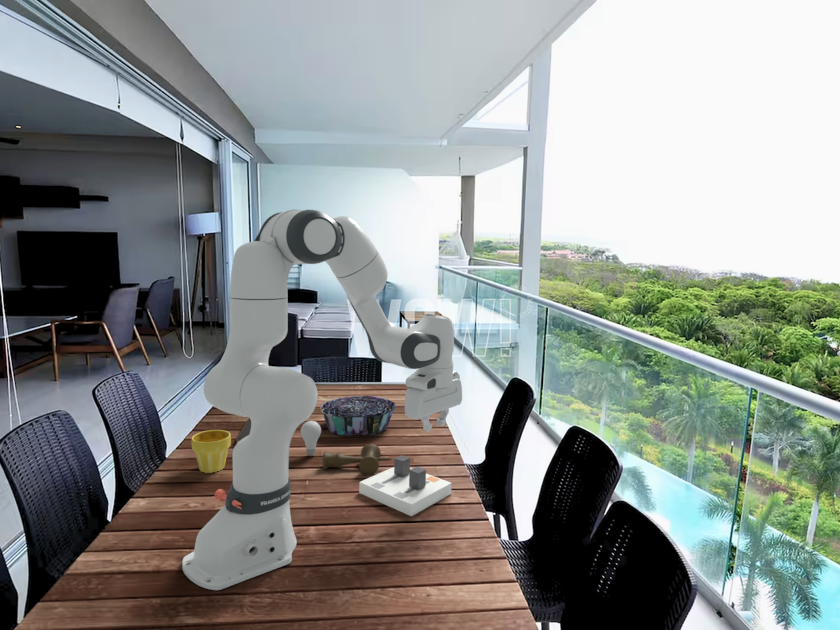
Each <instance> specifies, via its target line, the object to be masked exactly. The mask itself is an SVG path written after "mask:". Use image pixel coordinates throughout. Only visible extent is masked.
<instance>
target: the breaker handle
mask: <svg viewBox="0 0 840 630" xmlns="http://www.w3.org/2000/svg"><path fill="white" fill-rule="evenodd" d="M393 462H394V463H393V465H394V466H393V467H394V474H396V475H398V476H401V477H404V476H406V475H408V474H409V470H410V468H411V457H408V456H405V455H399V456H397V457H394V461H393Z"/></svg>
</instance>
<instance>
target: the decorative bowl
mask: <svg viewBox="0 0 840 630" xmlns="http://www.w3.org/2000/svg"><path fill="white" fill-rule="evenodd" d="M396 407H397V406H396V402H393V401H392V400H390V399H387V398H385V397H380V396H374V395H356V396H355V395H353V396H345V397H338V398H334V399H331V400H327V401H325V402H324V403H322V404H321V405H320V407H319V409H320V410H321V413H322V415H323V418H324V421H325V424H326V426H327V429H328V430H329V432H330V433H331V434H337V435H338V436H342V435H343V436H367V434H368V435H370V436H372V435H373V434H374V435H377V433H378V434H379V433H381V432H384V431H383V430H385V431H386V430H387V429H388V426H389V424H390V421H391V418H392V416H393V413H394V411H395V409H396ZM374 435H373V436H374Z"/></svg>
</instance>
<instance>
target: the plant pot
mask: <svg viewBox="0 0 840 630" xmlns="http://www.w3.org/2000/svg"><path fill="white" fill-rule="evenodd" d="M231 436H232V435H231V432H230V431H227V430H223V429H210V430H209V429H208V430H204V431H200V432H197V433H195V434H193V435H192V437H191V450H192V451H193V452H194V455H195V458H196V460H197V464H198V469H199V471H200V472H201V473H203V472H204V473H203V474H212V473H213V472H214V473H217V471H218V472H220V471H222V470H223V469H224V468H225V466H226V460H227V457H228V452H229V448H230V447H231V445H232V437H231Z"/></svg>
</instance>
